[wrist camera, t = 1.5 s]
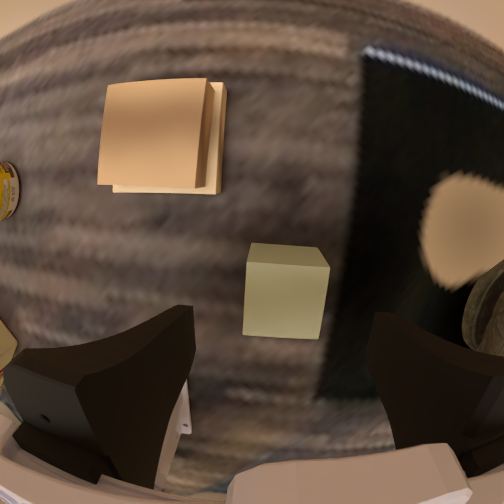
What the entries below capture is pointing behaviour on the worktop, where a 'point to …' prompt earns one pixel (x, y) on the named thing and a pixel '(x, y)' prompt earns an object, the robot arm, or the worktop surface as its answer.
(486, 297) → the bowl
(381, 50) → the worktop surface
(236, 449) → the worktop surface
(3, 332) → the gift box
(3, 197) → the supplement bottle
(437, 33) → the worktop surface
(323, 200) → the worktop surface
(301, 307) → the cube
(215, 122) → the bottom slab
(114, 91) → the top slab
